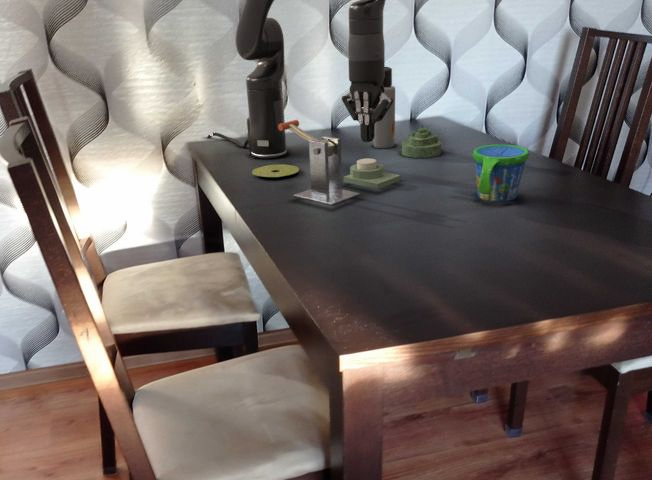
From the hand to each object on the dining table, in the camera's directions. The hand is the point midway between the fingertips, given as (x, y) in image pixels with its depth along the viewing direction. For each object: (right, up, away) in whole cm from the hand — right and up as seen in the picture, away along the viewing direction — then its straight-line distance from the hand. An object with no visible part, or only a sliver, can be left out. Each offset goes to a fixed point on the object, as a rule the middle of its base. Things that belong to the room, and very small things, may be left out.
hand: (367, 141), depth 154 cm
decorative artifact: (+17, +5, +27) cm, 32 cm away
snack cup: (+26, -15, -10) cm, 32 cm away
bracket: (-9, -14, -4) cm, 17 cm away
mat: (-21, -5, +13) cm, 25 cm away
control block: (+1, -9, +4) cm, 10 cm away
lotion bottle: (+8, +9, +36) cm, 38 cm away
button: (0, -5, +3) cm, 6 cm away
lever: (-13, -2, -6) cm, 15 cm away
